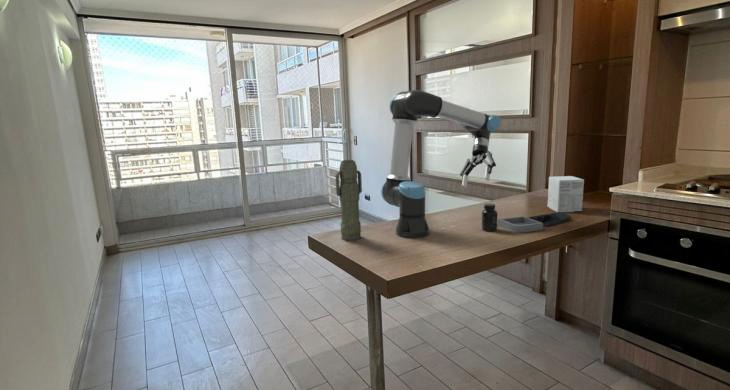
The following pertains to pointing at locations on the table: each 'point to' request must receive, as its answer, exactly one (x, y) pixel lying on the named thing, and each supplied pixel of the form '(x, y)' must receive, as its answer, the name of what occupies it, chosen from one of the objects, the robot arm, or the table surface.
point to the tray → (520, 224)
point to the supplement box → (565, 193)
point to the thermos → (349, 199)
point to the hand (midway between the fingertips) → (475, 183)
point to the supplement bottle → (489, 218)
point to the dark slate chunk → (551, 218)
